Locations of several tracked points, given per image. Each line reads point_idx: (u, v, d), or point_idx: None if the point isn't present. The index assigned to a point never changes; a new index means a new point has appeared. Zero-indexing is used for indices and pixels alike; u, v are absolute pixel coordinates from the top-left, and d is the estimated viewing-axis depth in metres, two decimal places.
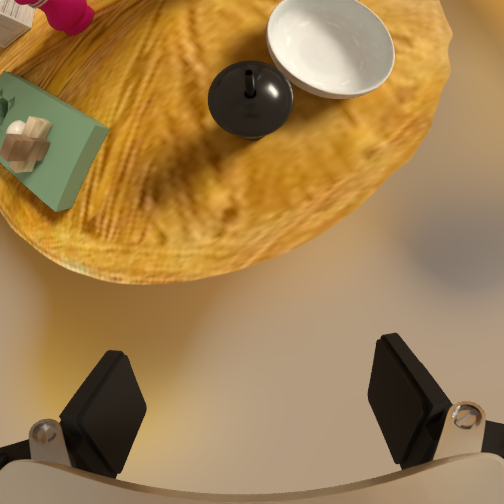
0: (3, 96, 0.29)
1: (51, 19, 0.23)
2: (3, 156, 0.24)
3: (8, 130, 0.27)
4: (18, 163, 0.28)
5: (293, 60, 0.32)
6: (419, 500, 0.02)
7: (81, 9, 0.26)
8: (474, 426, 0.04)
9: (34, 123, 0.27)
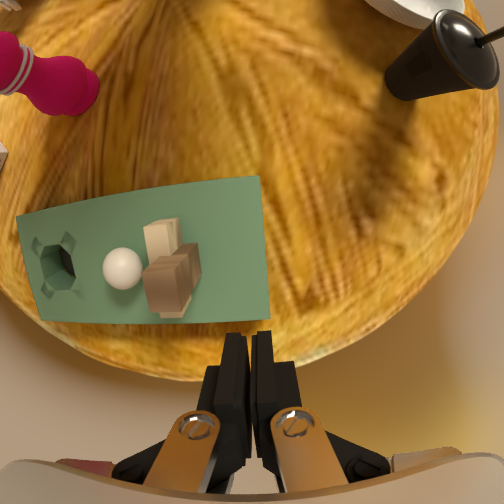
0: (45, 244, 0.27)
1: (47, 99, 0.20)
2: (165, 309, 0.19)
3: (110, 273, 0.23)
4: None
5: None
6: (419, 500, 0.02)
7: (81, 66, 0.21)
8: (310, 427, 0.06)
9: (165, 229, 0.22)
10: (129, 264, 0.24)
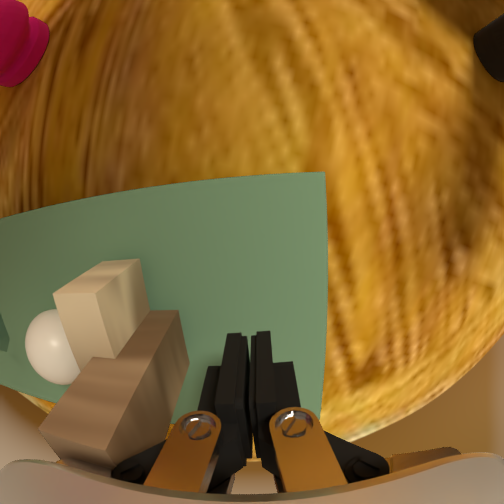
0: None
1: None
2: None
3: (34, 363, 0.10)
4: None
5: None
6: (419, 500, 0.02)
7: (19, 8, 0.08)
8: (309, 428, 0.06)
9: (95, 305, 0.08)
10: (63, 350, 0.10)
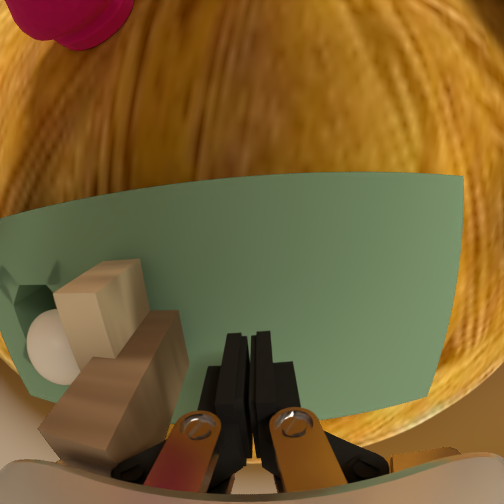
0: (20, 281, 0.13)
1: None
2: None
3: None
4: None
5: None
6: (419, 500, 0.02)
7: None
8: (309, 428, 0.06)
9: (96, 305, 0.08)
10: None
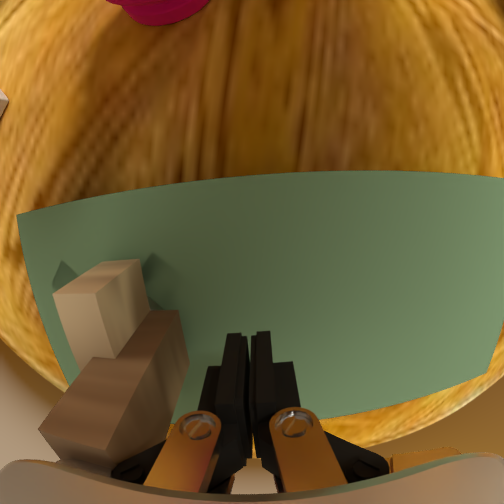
0: None
1: None
2: None
3: None
4: None
5: None
6: (419, 500, 0.02)
7: None
8: (309, 428, 0.06)
9: (95, 305, 0.08)
10: None
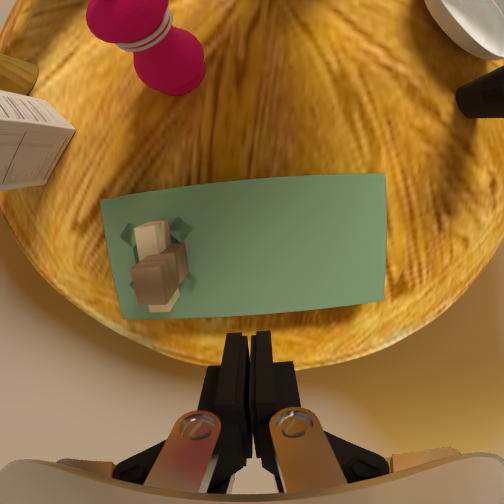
0: None
1: (168, 69, 0.21)
2: (151, 302, 0.21)
3: None
4: None
5: None
6: (419, 500, 0.02)
7: (199, 43, 0.23)
8: (309, 428, 0.06)
9: (153, 230, 0.24)
10: None
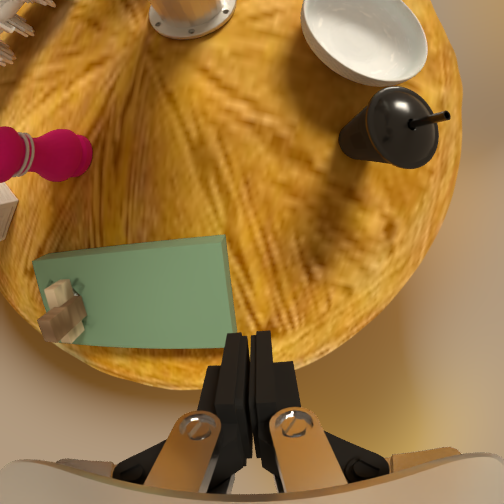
0: None
1: (50, 173, 0.28)
2: (50, 340, 0.27)
3: None
4: (68, 334, 0.32)
5: (344, 63, 0.29)
6: (419, 500, 0.02)
7: (75, 141, 0.29)
8: (309, 428, 0.06)
9: (54, 292, 0.30)
10: None
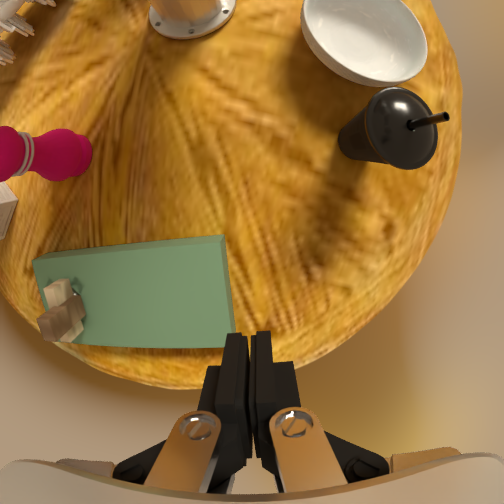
0: None
1: (50, 173, 0.28)
2: (49, 339, 0.27)
3: None
4: (67, 333, 0.32)
5: (343, 63, 0.29)
6: (419, 500, 0.02)
7: (75, 140, 0.29)
8: (309, 428, 0.06)
9: (53, 291, 0.30)
10: None
